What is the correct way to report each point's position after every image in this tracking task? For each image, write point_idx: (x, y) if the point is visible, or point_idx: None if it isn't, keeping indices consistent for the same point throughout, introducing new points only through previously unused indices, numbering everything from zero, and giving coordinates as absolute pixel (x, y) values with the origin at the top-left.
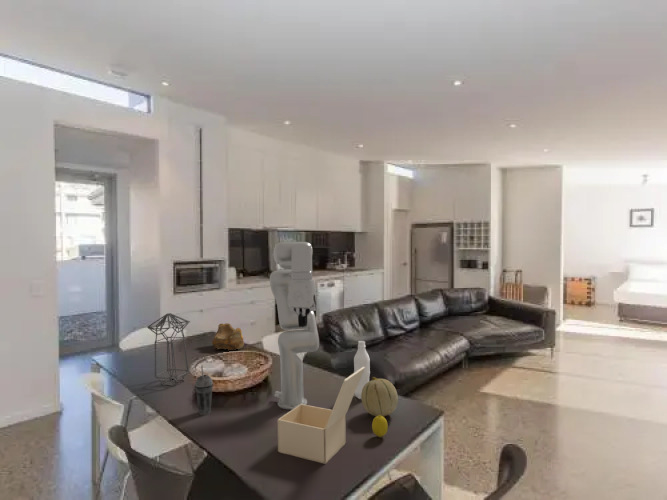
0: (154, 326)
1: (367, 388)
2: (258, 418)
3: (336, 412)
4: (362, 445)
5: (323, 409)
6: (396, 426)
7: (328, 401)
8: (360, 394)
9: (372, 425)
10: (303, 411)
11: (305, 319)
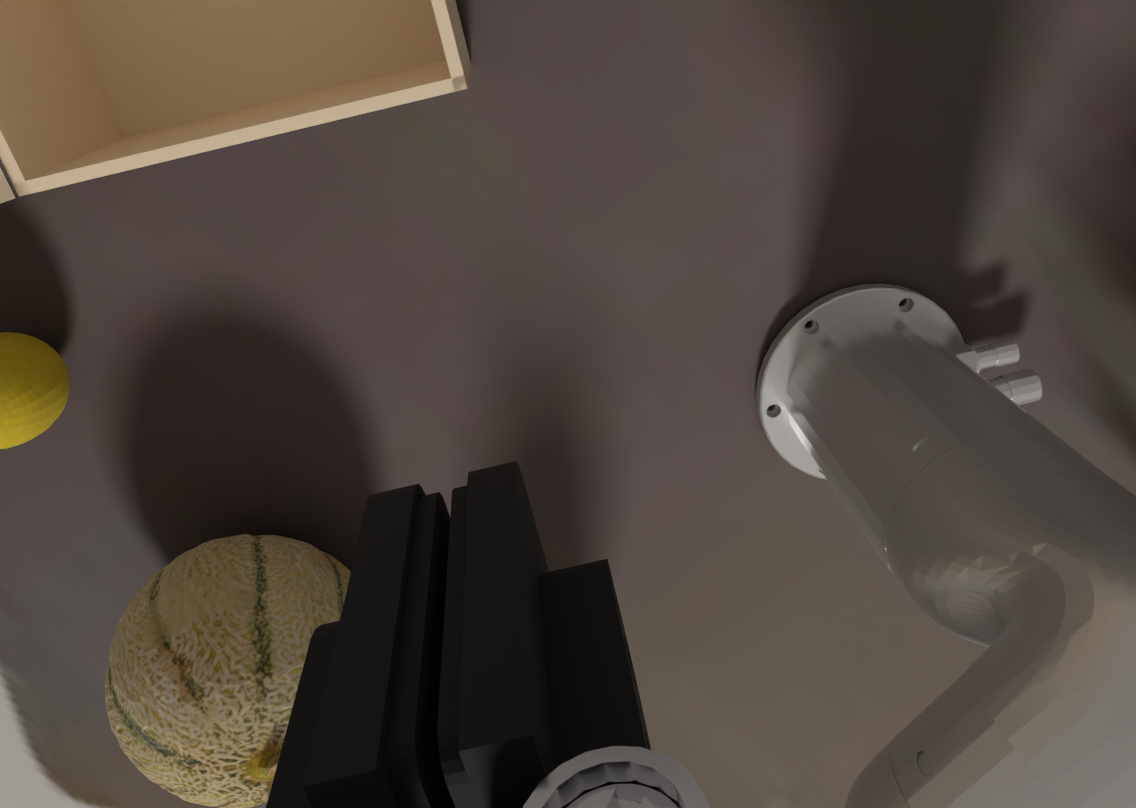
0: None
1: (259, 646)
2: (916, 50)
3: None
4: (25, 200)
5: (221, 132)
6: (87, 530)
7: (678, 551)
8: None
9: (24, 354)
10: (430, 77)
11: (290, 763)
